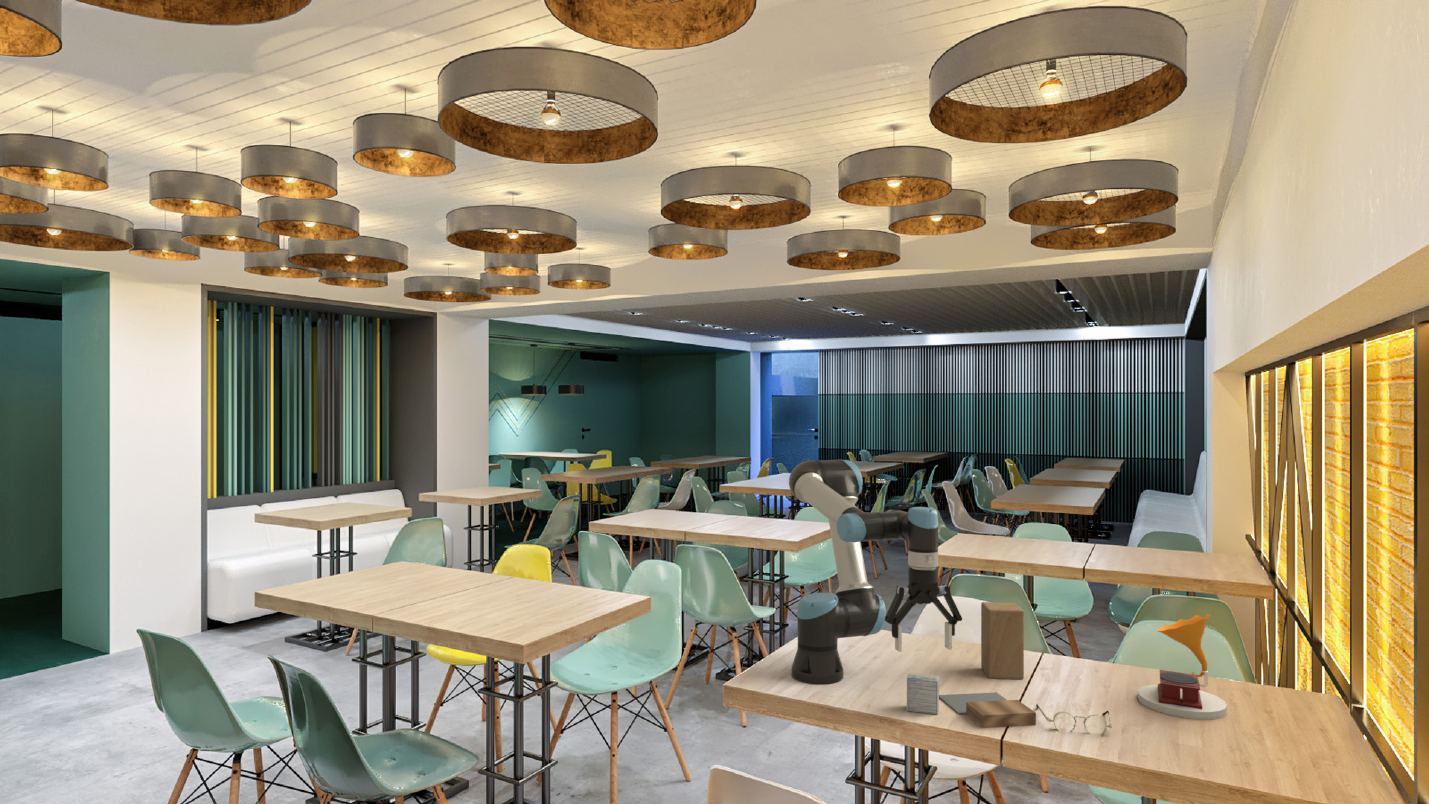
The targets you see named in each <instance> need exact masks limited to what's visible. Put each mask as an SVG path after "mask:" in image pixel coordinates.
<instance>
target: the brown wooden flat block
mask: <svg viewBox="0 0 1429 804" xmlns="http://www.w3.org/2000/svg"><path fill="white" fill-rule="evenodd" d="M965 715H967V716H968V717H969V718H970V719H972V720H973V721H974V722H975V723H976V724H977V725H979V726H980V727H981V728H1000V727H1003V728H1004V727H1020V726H1036V725H1037V712H1036V711H1034V710H1033V709H1031V708H1030V707H1028V706H1027V705H1025V703H1023V702H1022V701H1020V700H1019V699H1007V700H1003V701H982V702H966V714H965Z"/></svg>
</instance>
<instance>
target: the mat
mask: <svg viewBox="0 0 1429 804" xmlns="http://www.w3.org/2000/svg"><path fill="white" fill-rule="evenodd" d="M941 699H942V700H941ZM939 700H941V701H942V702H943V703H944V704H946V705H947V706H948V707H949V708H950V709H952V710H953V711H954V712H955V713H956V714H957V715H967V714H966V702H982V701H1003V700H1008V699H1007V698H1005V697H1004V696H1002V695H1001V694H1000V693H998V692H997V691H996V692H993V691H992V692H977V693H976V692H974V693H972V692H971V693H955V694H952V693H951V694H939Z"/></svg>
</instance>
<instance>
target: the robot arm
mask: <svg viewBox="0 0 1429 804" xmlns="http://www.w3.org/2000/svg"><path fill="white" fill-rule="evenodd" d="M863 485H864V484H863V476H862V472H861V470H860V468H859V467H858V466H857V464H855V463H854V462H853V461H851V460H848V459H827V460H826V459H824V460H822V459H821V460H806V461H802V462H800V463H799V464H797V465H796V466H795V467H794V468H793V469H792V471H791V472H790V474H789V477H788V486H789V490H790V491H791V494H792V495H793V496H794V497H795V498H797V500H799V501H800V502H801V503H806V504H807V503H808V504H809V505H810V506H812V507H813V508H814V509H815V510H816V511H818V512H819V513H821V515H823V516H824V517H825V518H827V519H828V524H829V525H828V526H829V531H830V535H831V543H832V548H833V555H834V561H835V567H836V568H835V569H836V572H837V574H836V575H837V580H838V588H837V589H836V591H835V592H833V593H832V592H827V591H826V592H825V591H824V592H813V593H809V594H807V595H804V596H801V598H800V599H799V601H798V603H797V612H796V615H797V647H796V648H797V649H796V652H795V656H794V658H793V660H792V661H793V662H792V665H791V676H792V677H793V678H794V680H797V681H801V682H804V683H808V684H816V685H817V684H818V685H819V684H821V685H822V684H823V685H825V684H826V685H827V684H834V683H837V682H839V681H842V680H843V679H844V667H843V662H842V661H841V657H840V653H839V650H838V642H839V641H838V639H844V638H845V639H846V638H853V637H855V638H856V637H868V636H871V635H875V634H878V633H880V632H881V630H882V629H883V627H884V624H885V622H886V623H888V624H889V625H891V636H892V638H893V639H894V650H896V651H897V652H899V653H900V652H901V653H902V652H903V647H902V644H903V641H902V639H903V637H902V636H903V635H902V633H903V631H902V629H903V627H902V625H900V624H901V622H902V621H903V620H904V618H905V617H906V616H907V615H908V614H909V612H910V611H911V610H912V609H913V607H914V606H917V604H918V605H923V604H928V605H931V604H933V605H934V606H935V607H936V608H937V610H938V611H939V612H940V613H941V615H942V616H943V617H944V618H945V619H946V620H947V621H944V647H945V648H946V649H947V650H949V651H952V650H953V636H954V637H955V635H956V625H957V623H958V622H961V621H962V620H963V617H962V614H961V612H960V610H959V609H958V607H957V605H956V602H955V600H954V599H953V596H952V595H951V594H952V592H951V587H950V586H949V585H946V584H945V583H944V584H942V585H940V586H939V570H938V568H937V567H939V520H938V519H939V518H938V510H937V509H936V508H933V507H928V506H913V507H912V506H911V507H910V508H908V511H904V510H901V509H889V510H887V511H880V512H879V511H877V512H874V511H873V512H864V511H863V510H862V509H861V508H859V507H857V506H856V504H857V502H858V500H859V495H860V494H861V492H862V490H863ZM891 540H892V541H893V540H903V541H907V543H908V544H907V545H908V547H907V548H908V551H907V552H908V556H907V557H908V559H907V560H908V562H907V563H908V564H907V565H908V566H909V567H908V571H907V572H908V574H907V575H908V580H907V581H908V585H907V586H901V585H897V586H896V589H895V595H894V597H893V599H892V601H891V603H890V606H889V608H888V610H886V609H887V608H886V604H885V601H884V600H883V597H882V596H881V595H879V594H877V593H875V588H874V586H872V584H870V583H869V582H868V578H867V577H868V576H867V572H866V571H867V570H866V566H865V565H866V564H865V561H864V554H863V548H862V543H863V542H874V541H891ZM907 593H908V595H909V596H908V597H907V598H906V600H905V602H904V603H903V605H902V606H901V604H902V602H903V599H904V596H906V594H907ZM939 593H940V594H942V595H943V598H944V600H945V602H946V604H947V606H948V608H949V610H950V612H951V613H950V612H949V610H948V609H947V608H946V607H945V606H944V604H943V603H941V601H940V599H939V598H938V595H939ZM900 606H901V607H900Z"/></svg>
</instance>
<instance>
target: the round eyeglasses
mask: <svg viewBox="0 0 1429 804" xmlns="http://www.w3.org/2000/svg"><path fill="white" fill-rule="evenodd" d="M1035 707H1036V710H1039V711H1040V713H1041V714H1042V715H1043V717H1044V719H1046V721H1048V723H1052V722H1053V725H1054V728H1055V731H1060V729H1059V728H1058V727H1057V726H1056V725H1055V718H1056V717H1057V716H1058V715H1060V714H1068V715H1069V716H1071V717H1072V719H1073V720H1074V724H1073V725H1072V726H1073V728H1072V729H1071V730H1070V731H1069V732H1070V733H1071V732H1073V731H1075V728H1076V723H1077V720H1076V718H1079V719H1083V727H1084V729H1085V731H1086V733H1088V735H1090V734H1091V733H1090V732H1089V731H1088V730H1087V729H1086V728H1087V726H1086V721H1087V720H1088V719H1089V718H1090V717H1097V718H1101V719H1102V720H1103V721H1104V723H1105V727H1104V730H1102V732H1100V735H1101V736H1104V735H1105V733H1106V732H1107V728H1110V729H1112V728H1113V725H1112V724H1113V723H1112V720H1111V715H1110V712H1109V710H1106V711H1105V712H1102V716H1106V715H1107V714H1108V718H1109V723H1108V724H1107V722H1106V720H1105V719H1104V717H1102V716H1101V715H1099V714H1090V715H1088V716H1087V717H1085V716H1077V715H1075V716H1073V715H1072V714H1071V713H1069V712H1068V711H1065V710H1064V711H1063V710H1062V711H1057V713H1055V714H1054V715H1053V719H1051V718H1049V716H1047V715H1046V714H1045V712H1044V711H1043V710H1042V708H1041V707H1040V706H1039V704H1037V703H1036V706H1035Z"/></svg>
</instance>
